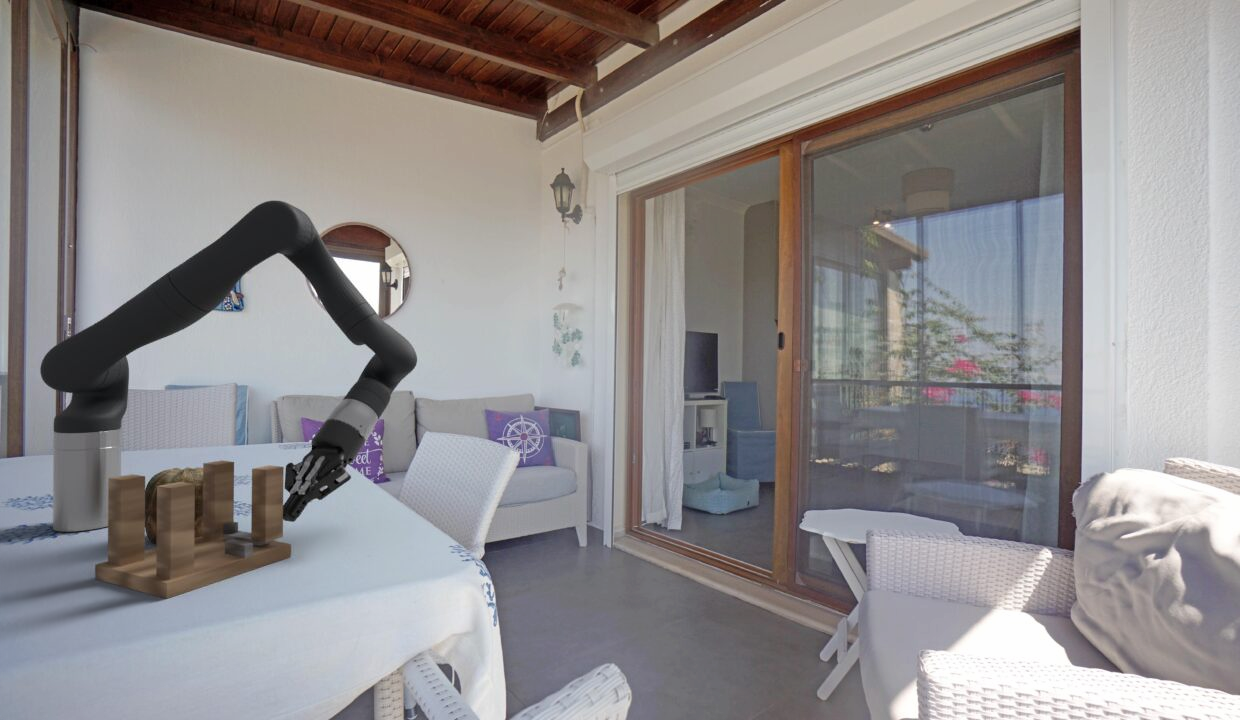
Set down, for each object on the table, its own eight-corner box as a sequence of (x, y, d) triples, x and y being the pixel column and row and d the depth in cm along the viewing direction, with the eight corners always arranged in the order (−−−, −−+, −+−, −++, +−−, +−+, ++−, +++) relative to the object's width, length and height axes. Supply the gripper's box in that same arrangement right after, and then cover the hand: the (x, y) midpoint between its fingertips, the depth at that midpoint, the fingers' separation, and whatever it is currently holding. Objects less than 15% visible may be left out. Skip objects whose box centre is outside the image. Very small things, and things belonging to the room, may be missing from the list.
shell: (180, 550, 98) (181, 475, 98) (124, 544, 100) (125, 471, 100) (235, 530, 109) (236, 463, 108) (184, 526, 111) (184, 460, 111)
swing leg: (217, 539, 96) (217, 464, 96) (234, 534, 99) (235, 461, 99) (265, 548, 92) (266, 470, 92) (282, 542, 95) (283, 466, 95)
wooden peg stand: (95, 578, 85) (95, 478, 85) (223, 542, 102) (223, 458, 102) (166, 598, 79) (167, 490, 79) (290, 556, 95) (291, 467, 95)
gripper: (304, 416, 107) (239, 502, 96) (363, 418, 102) (302, 510, 91) (330, 442, 112) (270, 526, 101) (387, 445, 107) (331, 535, 96)
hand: (285, 518), depth 96 cm, fingers closed
